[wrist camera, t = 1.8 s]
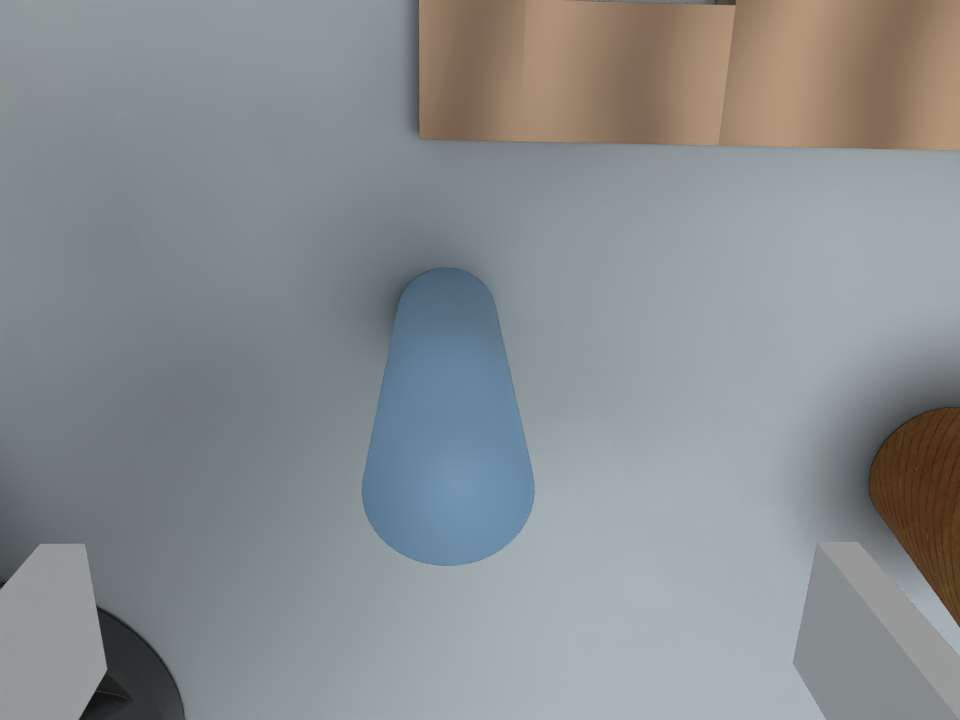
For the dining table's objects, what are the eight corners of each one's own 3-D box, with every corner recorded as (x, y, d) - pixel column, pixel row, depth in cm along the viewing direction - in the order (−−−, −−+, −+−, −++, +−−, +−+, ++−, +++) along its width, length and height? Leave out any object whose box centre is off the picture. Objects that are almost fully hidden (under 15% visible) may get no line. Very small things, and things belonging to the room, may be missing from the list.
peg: (397, 362, 32) (364, 566, 18) (396, 267, 30) (359, 413, 17) (494, 363, 32) (530, 564, 19) (497, 268, 30) (538, 413, 17)
